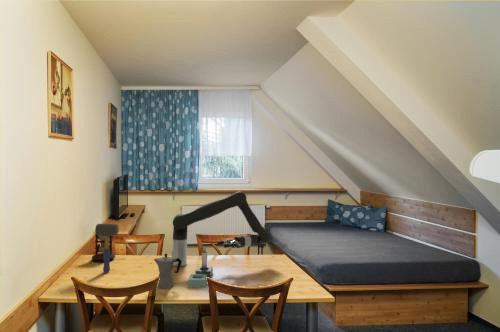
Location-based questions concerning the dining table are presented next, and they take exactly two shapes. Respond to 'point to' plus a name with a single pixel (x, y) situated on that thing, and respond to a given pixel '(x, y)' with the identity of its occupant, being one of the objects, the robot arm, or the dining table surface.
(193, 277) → the rack block
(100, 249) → the dark brown lantern
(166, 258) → the coffeepot
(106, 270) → the rubber mallet
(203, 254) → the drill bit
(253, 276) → the dining table surface
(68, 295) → the dining table surface
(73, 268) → the dining table surface
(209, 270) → the socket block
